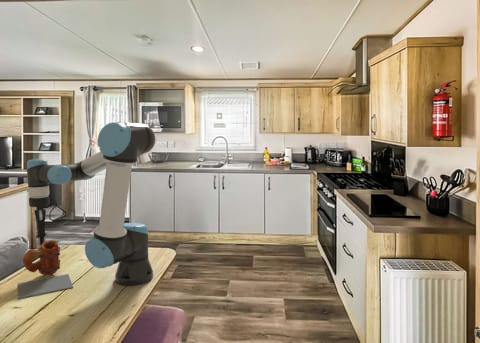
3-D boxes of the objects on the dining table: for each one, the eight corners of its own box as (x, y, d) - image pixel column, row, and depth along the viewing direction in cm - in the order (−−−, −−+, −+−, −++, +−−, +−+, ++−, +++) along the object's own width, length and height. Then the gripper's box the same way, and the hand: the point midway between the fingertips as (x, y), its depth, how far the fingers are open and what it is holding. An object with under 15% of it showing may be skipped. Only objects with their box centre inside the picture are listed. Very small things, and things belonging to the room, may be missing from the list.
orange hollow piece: (55, 260, 156) (55, 234, 150) (65, 271, 152) (65, 244, 146) (20, 275, 145) (18, 247, 138) (29, 287, 141) (28, 259, 135)
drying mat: (73, 288, 137) (72, 286, 137) (18, 299, 127) (18, 297, 127) (68, 275, 150) (68, 273, 149) (18, 284, 140) (18, 283, 140)
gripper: (28, 195, 150) (31, 248, 152) (28, 199, 139) (32, 257, 141) (48, 193, 154) (51, 246, 156) (50, 197, 143) (53, 254, 145)
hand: (42, 251), depth 149 cm, fingers closed
